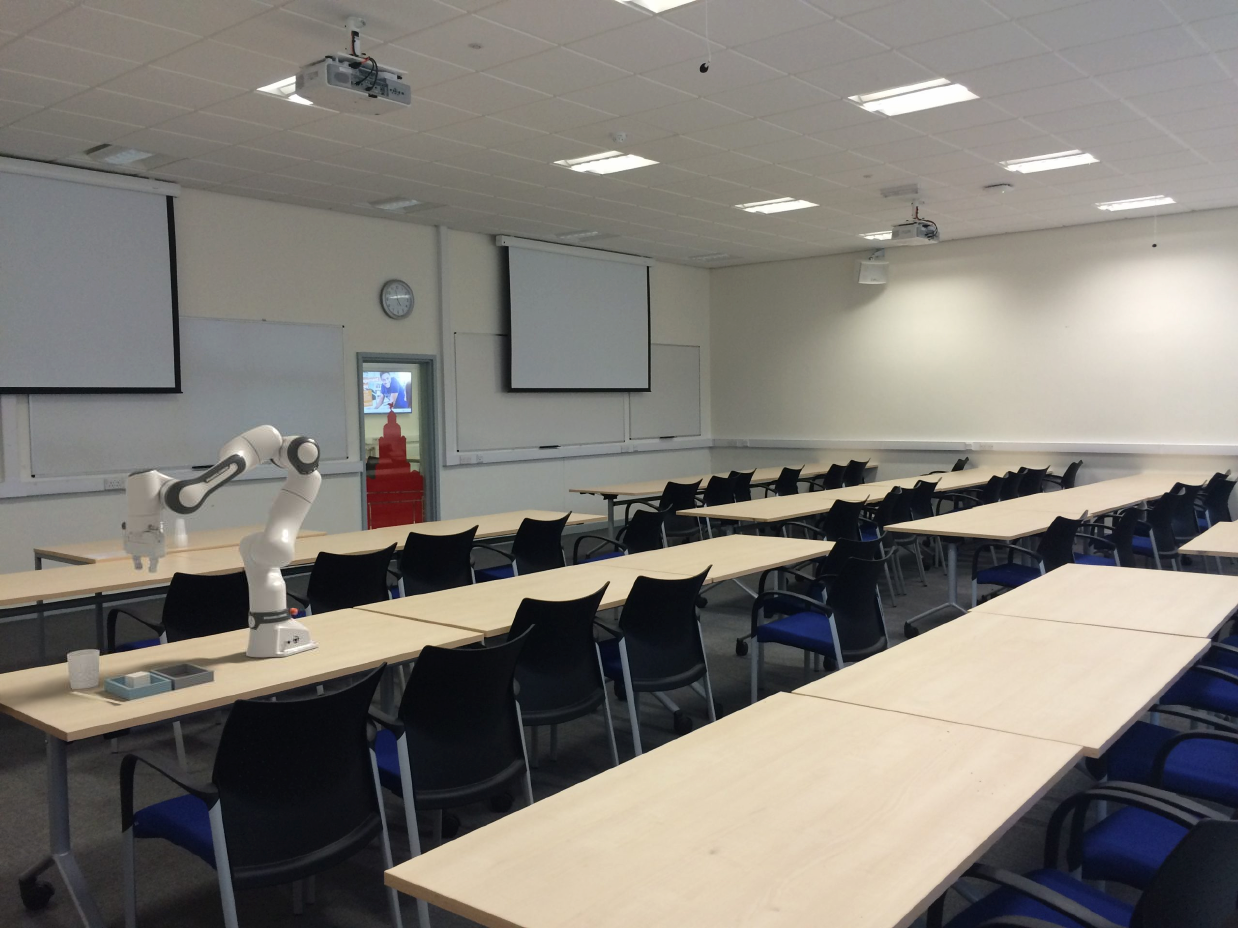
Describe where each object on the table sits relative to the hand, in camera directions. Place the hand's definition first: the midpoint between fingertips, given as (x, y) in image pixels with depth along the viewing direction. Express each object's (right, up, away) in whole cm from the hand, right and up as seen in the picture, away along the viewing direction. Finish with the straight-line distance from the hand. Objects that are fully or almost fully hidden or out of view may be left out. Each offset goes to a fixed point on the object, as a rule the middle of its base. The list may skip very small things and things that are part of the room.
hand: (145, 571), depth 269 cm
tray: (+14, -31, -7) cm, 35 cm away
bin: (+6, -32, -16) cm, 36 cm away
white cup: (-12, -32, -10) cm, 36 cm away
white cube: (+6, -31, -16) cm, 36 cm away
